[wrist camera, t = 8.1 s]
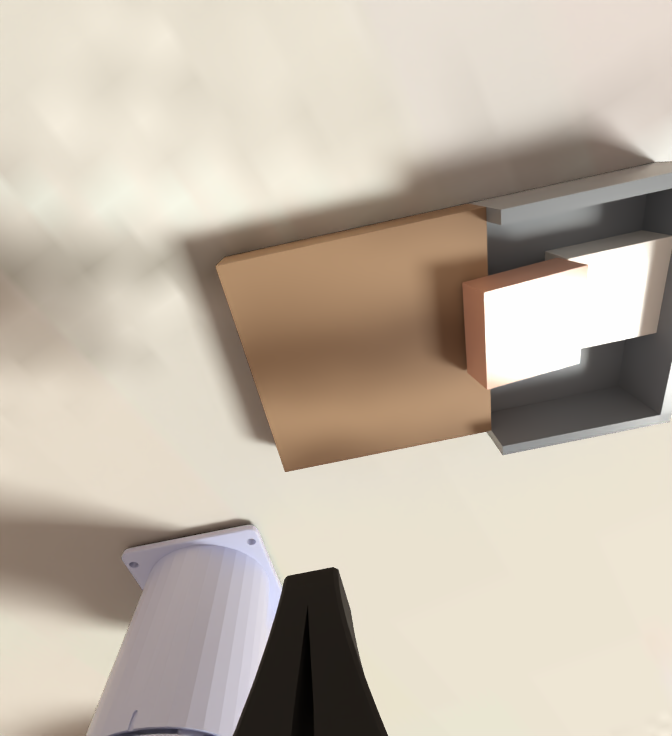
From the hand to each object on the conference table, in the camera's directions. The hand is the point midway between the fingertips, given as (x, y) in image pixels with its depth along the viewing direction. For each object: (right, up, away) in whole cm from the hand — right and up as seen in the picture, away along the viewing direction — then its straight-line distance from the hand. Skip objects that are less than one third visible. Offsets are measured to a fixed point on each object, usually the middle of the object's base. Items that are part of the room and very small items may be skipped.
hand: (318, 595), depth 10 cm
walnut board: (+2, +7, +8) cm, 11 cm away
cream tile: (+12, +9, +7) cm, 16 cm away
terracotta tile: (+8, +8, +6) cm, 12 cm away
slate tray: (+10, +9, +7) cm, 16 cm away
